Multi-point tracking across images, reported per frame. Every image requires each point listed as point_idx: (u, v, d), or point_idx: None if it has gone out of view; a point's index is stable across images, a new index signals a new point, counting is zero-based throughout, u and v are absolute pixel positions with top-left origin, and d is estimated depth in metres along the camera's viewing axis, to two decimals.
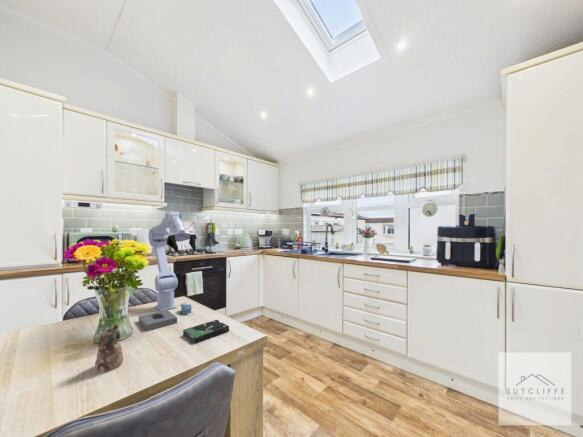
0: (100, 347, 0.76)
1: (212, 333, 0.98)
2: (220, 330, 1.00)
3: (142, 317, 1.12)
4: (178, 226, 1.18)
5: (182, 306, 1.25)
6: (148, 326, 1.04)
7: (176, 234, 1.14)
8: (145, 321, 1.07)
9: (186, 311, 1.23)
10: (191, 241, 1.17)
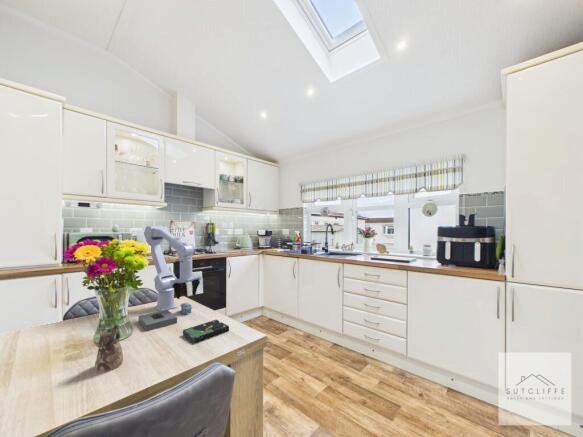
0: (100, 347, 0.76)
1: (212, 333, 0.98)
2: (220, 330, 1.00)
3: (142, 317, 1.12)
4: (186, 272, 1.23)
5: (182, 306, 1.25)
6: (148, 326, 1.04)
7: (182, 281, 1.22)
8: (145, 321, 1.07)
9: (186, 311, 1.23)
10: (193, 285, 1.28)
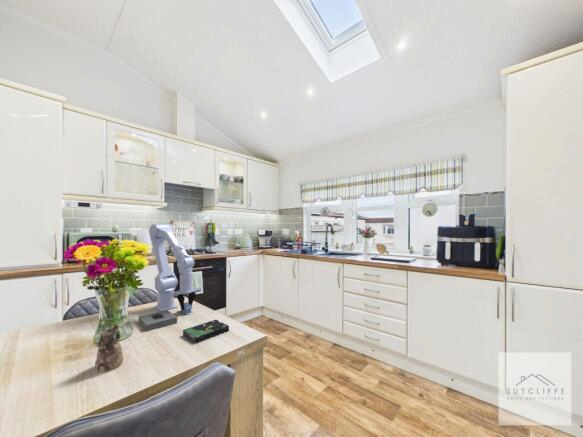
0: (100, 347, 0.76)
1: (213, 333, 0.98)
2: (220, 330, 1.00)
3: (142, 317, 1.12)
4: (186, 284, 1.23)
5: None
6: (148, 326, 1.04)
7: (182, 293, 1.22)
8: (145, 321, 1.07)
9: (186, 311, 1.23)
10: (189, 298, 1.26)
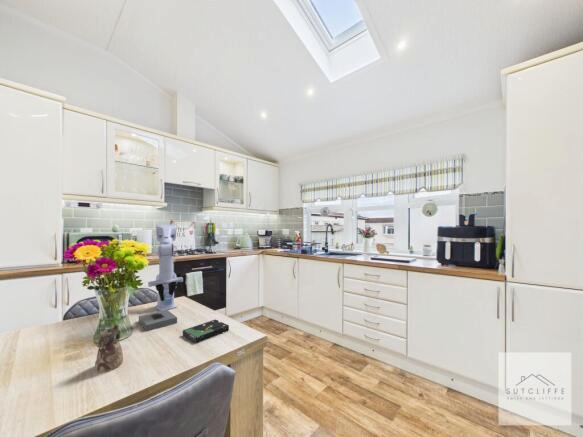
0: (100, 347, 0.76)
1: (213, 333, 0.98)
2: (220, 329, 1.01)
3: (142, 317, 1.12)
4: (166, 273, 1.14)
5: None
6: (148, 326, 1.04)
7: (161, 282, 1.13)
8: (145, 321, 1.07)
9: (166, 302, 1.14)
10: (170, 288, 1.17)
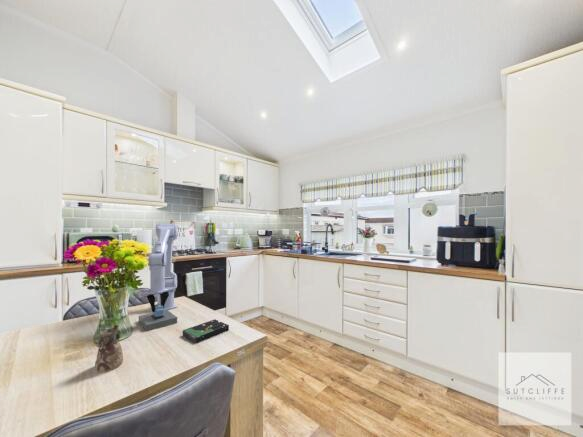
0: (100, 347, 0.76)
1: (213, 332, 0.98)
2: (220, 329, 1.01)
3: (142, 317, 1.12)
4: (158, 283, 1.11)
5: None
6: (148, 326, 1.04)
7: None
8: (145, 321, 1.07)
9: (157, 313, 1.10)
10: (162, 299, 1.14)
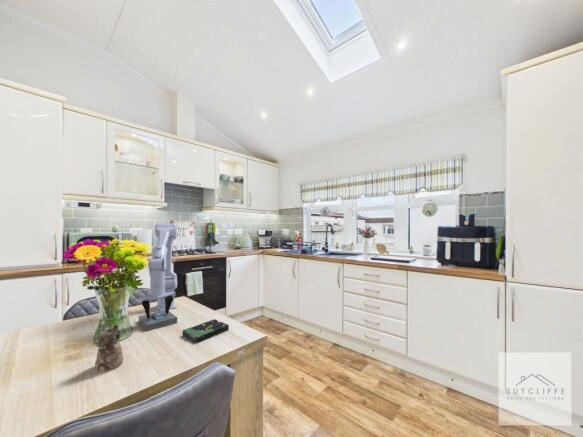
0: (100, 347, 0.76)
1: (213, 332, 0.98)
2: (220, 329, 1.01)
3: (142, 317, 1.12)
4: (158, 288, 1.10)
5: (153, 316, 1.12)
6: (148, 326, 1.04)
7: (152, 298, 1.10)
8: (145, 321, 1.07)
9: None
10: (166, 303, 1.15)
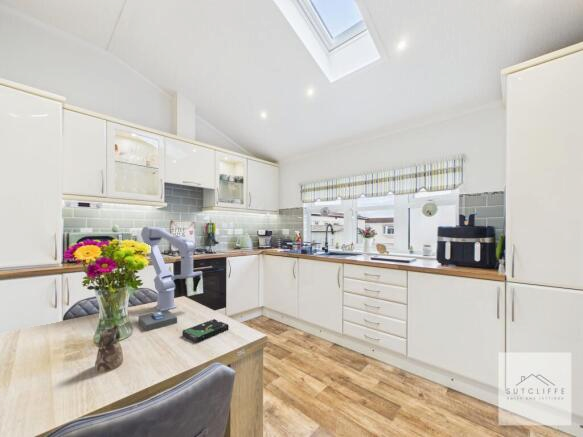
0: (100, 347, 0.76)
1: (213, 332, 0.99)
2: (220, 329, 1.01)
3: (142, 317, 1.12)
4: (187, 267, 1.24)
5: (153, 316, 1.12)
6: (148, 326, 1.04)
7: (183, 277, 1.24)
8: (145, 321, 1.07)
9: None
10: (194, 281, 1.29)
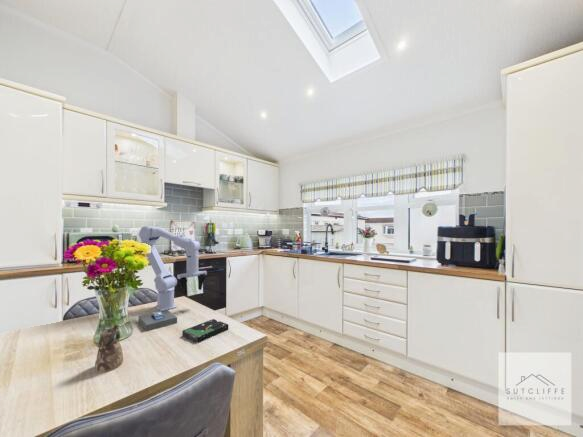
0: (100, 347, 0.76)
1: (213, 332, 0.99)
2: (220, 328, 1.01)
3: (142, 317, 1.12)
4: (193, 266, 1.27)
5: (153, 316, 1.12)
6: (148, 326, 1.04)
7: (189, 275, 1.27)
8: (145, 321, 1.07)
9: None
10: (199, 280, 1.32)
